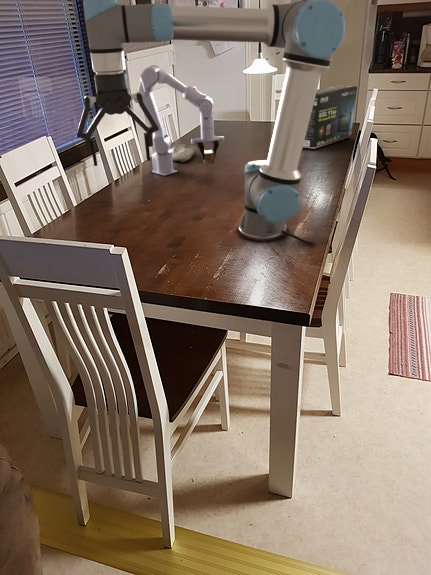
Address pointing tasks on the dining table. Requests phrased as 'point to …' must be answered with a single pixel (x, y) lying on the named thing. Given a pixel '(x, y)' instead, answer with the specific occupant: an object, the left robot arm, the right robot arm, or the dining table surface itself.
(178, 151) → the fossil
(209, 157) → the block
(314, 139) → the router box
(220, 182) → the dining table surface
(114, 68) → the right robot arm
